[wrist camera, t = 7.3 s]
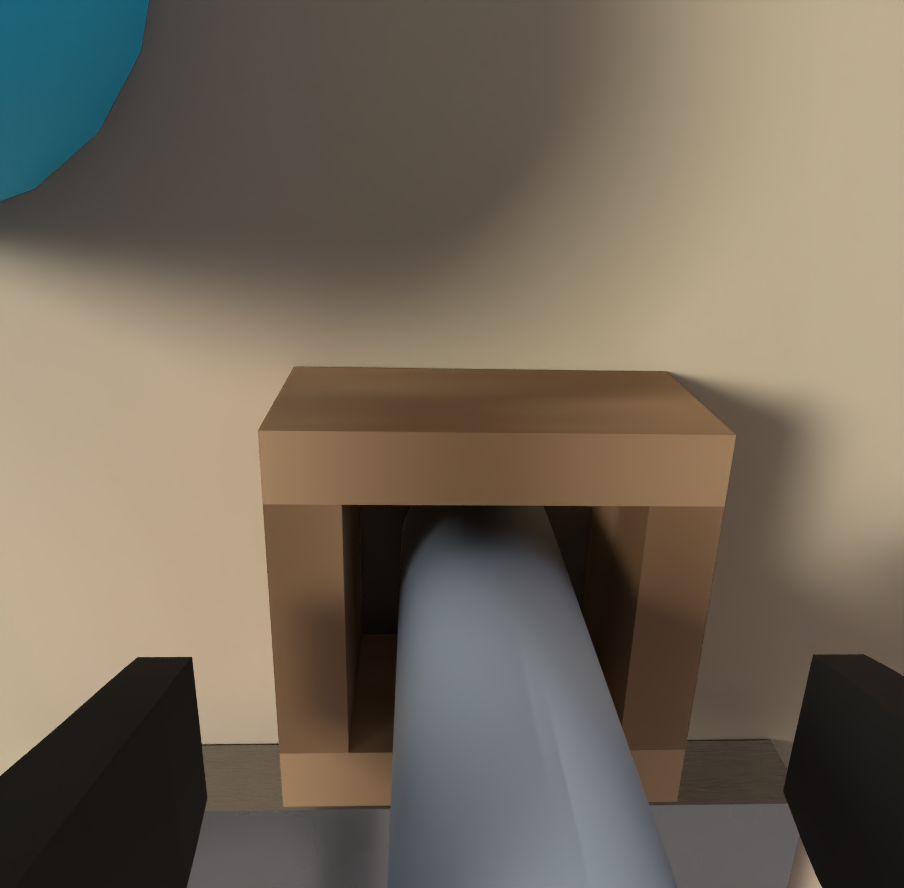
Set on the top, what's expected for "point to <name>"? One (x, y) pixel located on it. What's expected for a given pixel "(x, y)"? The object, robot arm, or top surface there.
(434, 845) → the dowel
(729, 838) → the panel
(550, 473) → the holder
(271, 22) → the top surface
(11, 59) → the mug
